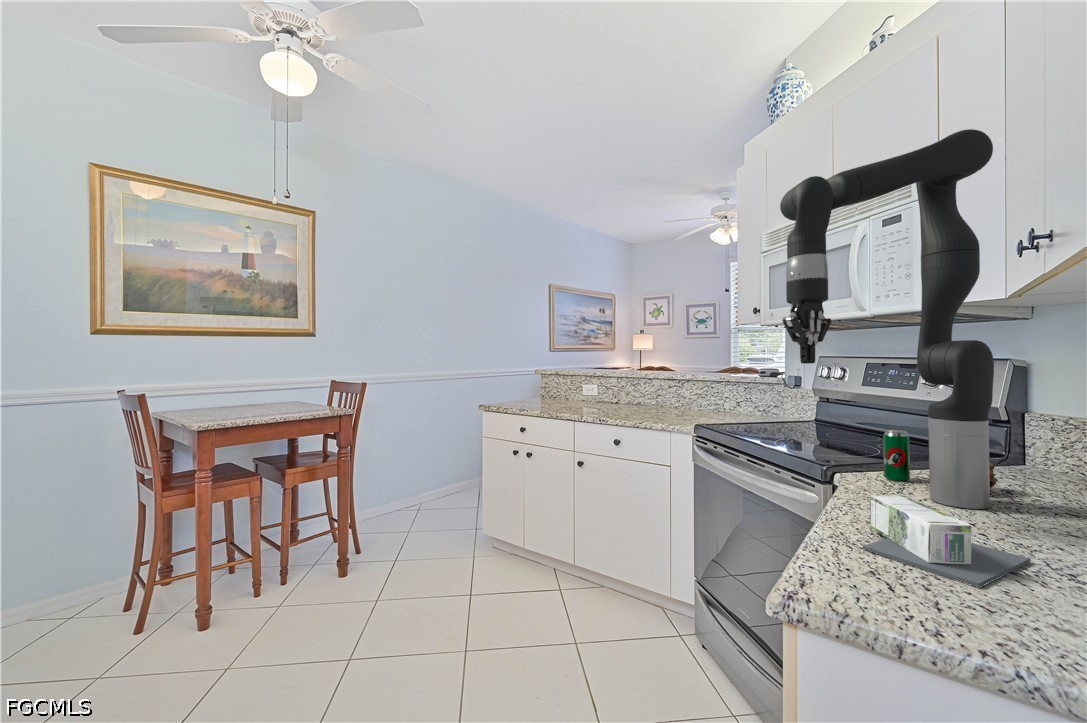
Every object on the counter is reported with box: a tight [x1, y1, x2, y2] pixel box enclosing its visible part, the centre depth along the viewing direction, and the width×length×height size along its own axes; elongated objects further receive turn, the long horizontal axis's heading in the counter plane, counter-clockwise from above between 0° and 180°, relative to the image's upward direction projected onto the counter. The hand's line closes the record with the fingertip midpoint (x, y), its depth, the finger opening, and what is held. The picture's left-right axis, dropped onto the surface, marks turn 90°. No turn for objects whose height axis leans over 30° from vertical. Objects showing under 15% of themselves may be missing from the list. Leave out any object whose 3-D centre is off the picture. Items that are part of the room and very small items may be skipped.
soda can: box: [883, 429, 911, 482], centre depth 114 cm, size 5×5×12 cm
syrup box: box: [869, 495, 972, 564], centre depth 72 cm, size 6×6×14 cm
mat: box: [862, 537, 1031, 588], centre depth 70 cm, size 16×14×1 cm
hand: (807, 363), depth 95 cm, fingers closed
